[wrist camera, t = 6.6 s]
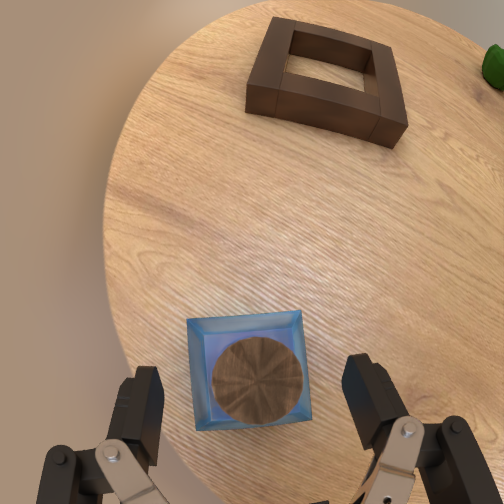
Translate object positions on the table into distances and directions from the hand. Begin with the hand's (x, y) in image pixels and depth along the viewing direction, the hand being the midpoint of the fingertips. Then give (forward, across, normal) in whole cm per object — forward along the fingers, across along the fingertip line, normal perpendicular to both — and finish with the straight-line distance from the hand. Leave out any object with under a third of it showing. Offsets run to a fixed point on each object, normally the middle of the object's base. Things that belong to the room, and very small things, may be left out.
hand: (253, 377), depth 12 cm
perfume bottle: (+7, 0, +7) cm, 10 cm away
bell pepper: (+37, -51, -23) cm, 67 cm away
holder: (+28, -11, -14) cm, 33 cm away
